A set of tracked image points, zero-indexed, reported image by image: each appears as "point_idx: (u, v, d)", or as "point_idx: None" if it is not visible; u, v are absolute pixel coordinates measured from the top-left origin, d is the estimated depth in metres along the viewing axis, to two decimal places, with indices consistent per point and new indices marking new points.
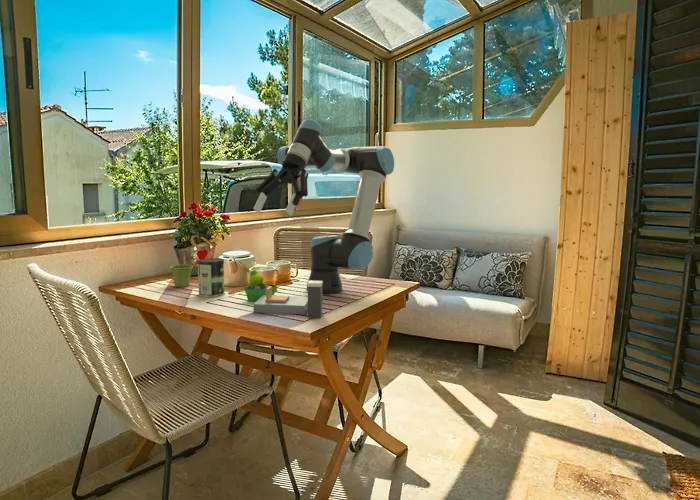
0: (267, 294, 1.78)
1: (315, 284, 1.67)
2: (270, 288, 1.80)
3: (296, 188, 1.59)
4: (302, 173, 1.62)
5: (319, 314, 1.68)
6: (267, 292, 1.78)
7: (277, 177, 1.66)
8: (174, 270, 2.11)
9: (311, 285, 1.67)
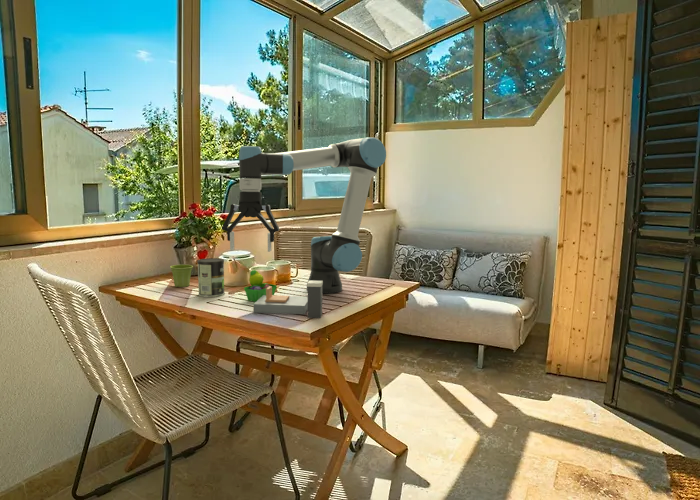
0: (267, 294, 1.78)
1: (315, 284, 1.67)
2: (270, 288, 1.80)
3: (268, 227, 1.76)
4: (267, 210, 1.75)
5: (319, 314, 1.68)
6: (267, 292, 1.78)
7: (241, 215, 1.75)
8: (174, 270, 2.11)
9: (311, 285, 1.67)
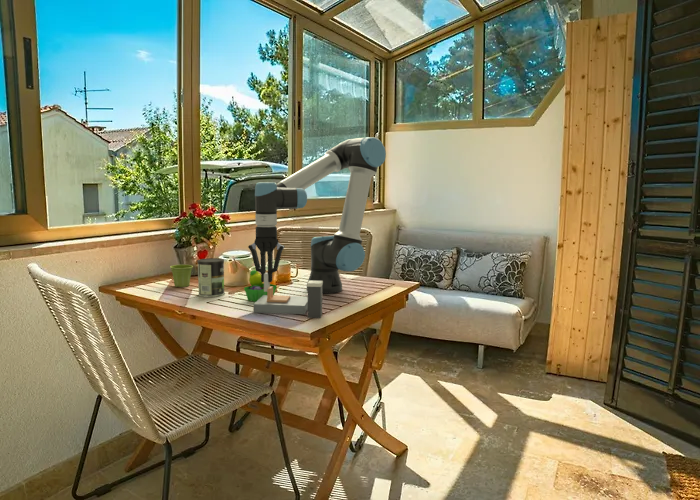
0: (268, 294, 1.78)
1: (315, 284, 1.67)
2: (271, 288, 1.80)
3: (269, 267, 1.78)
4: (279, 250, 1.77)
5: (319, 314, 1.68)
6: (268, 292, 1.78)
7: (262, 252, 1.77)
8: (174, 270, 2.11)
9: (311, 285, 1.67)
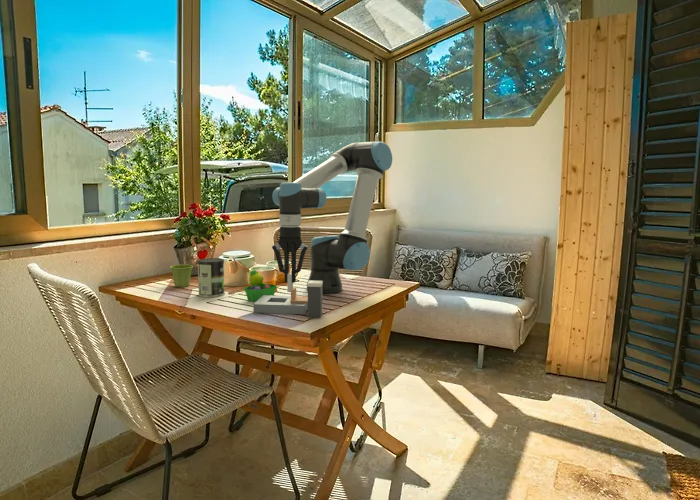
0: (292, 295, 1.77)
1: (315, 284, 1.67)
2: (295, 289, 1.79)
3: (293, 267, 1.77)
4: (303, 251, 1.76)
5: (319, 314, 1.68)
6: (292, 293, 1.77)
7: (286, 252, 1.76)
8: (174, 270, 2.11)
9: (311, 285, 1.67)
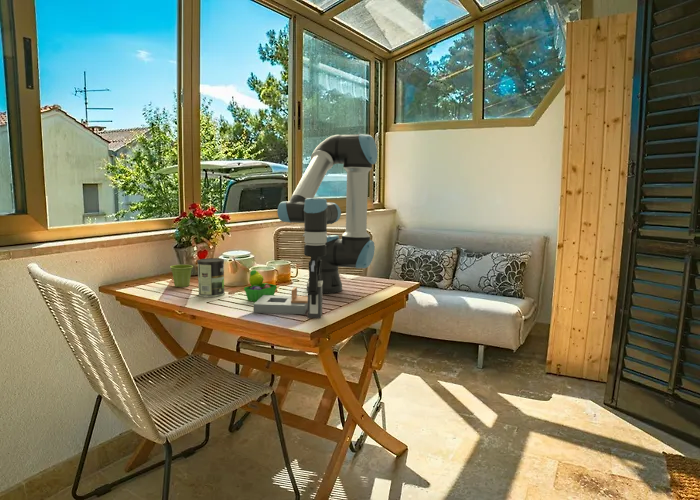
0: (293, 295, 1.77)
1: None
2: (295, 289, 1.79)
3: None
4: None
5: (319, 314, 1.68)
6: (293, 293, 1.77)
7: None
8: (174, 270, 2.11)
9: None
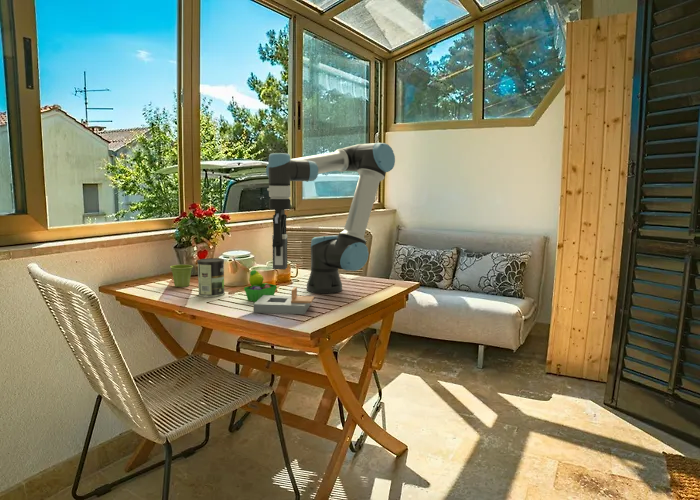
0: (293, 295, 1.77)
1: None
2: (295, 289, 1.79)
3: None
4: None
5: (284, 265, 1.76)
6: (293, 293, 1.77)
7: None
8: (174, 270, 2.11)
9: None
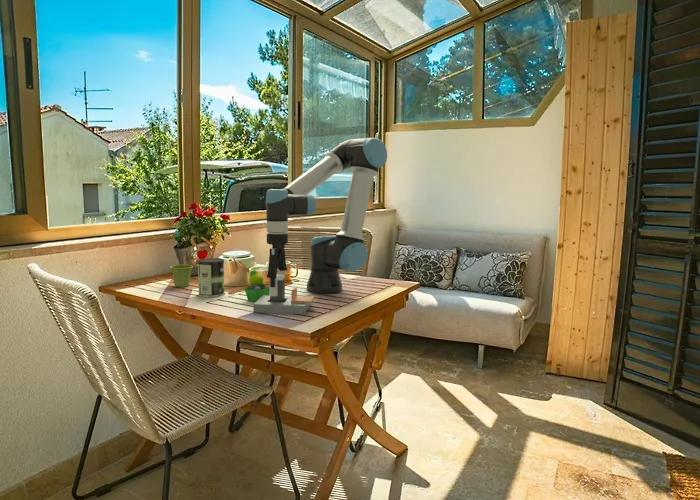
0: (293, 295, 1.77)
1: (277, 278, 1.77)
2: (295, 289, 1.79)
3: None
4: None
5: None
6: (293, 293, 1.77)
7: None
8: (174, 270, 2.11)
9: None
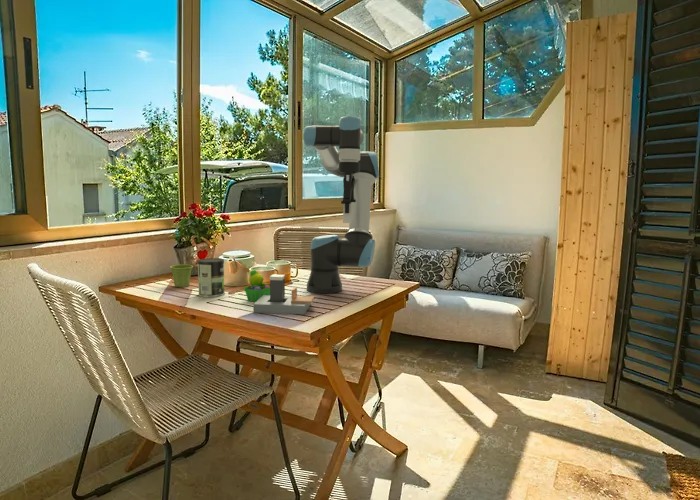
0: (293, 295, 1.77)
1: (277, 278, 1.77)
2: (295, 289, 1.79)
3: None
4: (344, 180, 1.71)
5: None
6: (293, 293, 1.77)
7: None
8: (174, 270, 2.11)
9: (273, 279, 1.77)
